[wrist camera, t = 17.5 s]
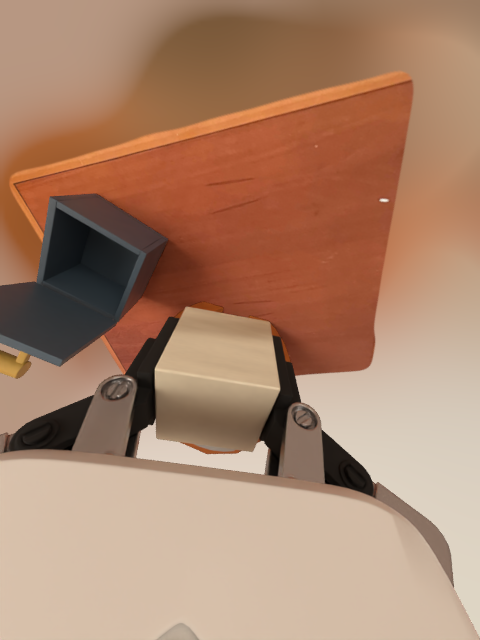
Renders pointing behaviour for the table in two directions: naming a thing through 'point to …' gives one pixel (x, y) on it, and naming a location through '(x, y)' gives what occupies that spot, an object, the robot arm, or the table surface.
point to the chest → (97, 254)
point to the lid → (44, 326)
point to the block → (216, 380)
